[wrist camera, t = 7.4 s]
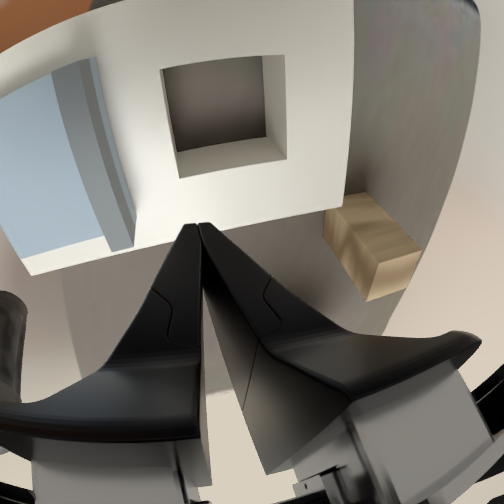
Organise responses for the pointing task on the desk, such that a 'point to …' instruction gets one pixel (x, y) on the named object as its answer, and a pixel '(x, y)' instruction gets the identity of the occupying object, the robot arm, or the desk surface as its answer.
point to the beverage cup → (11, 347)
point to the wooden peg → (370, 246)
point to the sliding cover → (61, 165)
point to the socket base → (221, 155)
